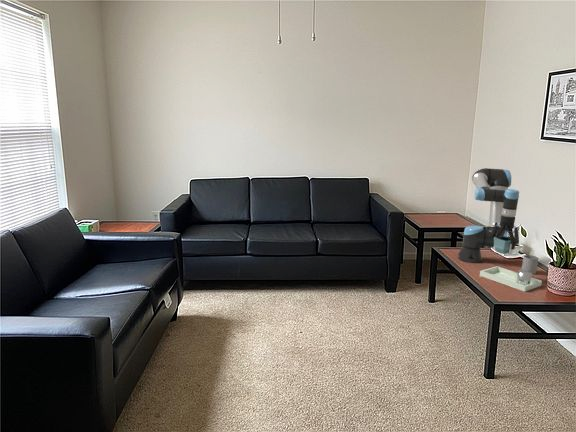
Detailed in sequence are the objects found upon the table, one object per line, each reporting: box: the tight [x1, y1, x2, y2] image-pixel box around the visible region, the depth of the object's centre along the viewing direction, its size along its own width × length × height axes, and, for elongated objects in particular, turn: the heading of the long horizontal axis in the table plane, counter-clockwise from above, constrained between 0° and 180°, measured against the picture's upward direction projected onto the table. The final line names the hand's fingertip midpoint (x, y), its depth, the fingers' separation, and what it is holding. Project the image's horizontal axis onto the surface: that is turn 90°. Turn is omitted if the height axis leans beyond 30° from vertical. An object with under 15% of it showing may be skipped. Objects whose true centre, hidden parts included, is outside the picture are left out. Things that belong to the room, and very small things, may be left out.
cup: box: [520, 254, 539, 275], centre depth 281 cm, size 8×8×10 cm
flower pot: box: [493, 236, 512, 255], centre depth 264 cm, size 9×9×9 cm
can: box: [516, 269, 533, 286], centre depth 256 cm, size 7×7×8 cm
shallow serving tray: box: [479, 266, 543, 292], centre depth 263 cm, size 28×18×4 cm, turn 34°
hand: (502, 251), depth 265 cm, fingers closed on flower pot, 9 cm apart
